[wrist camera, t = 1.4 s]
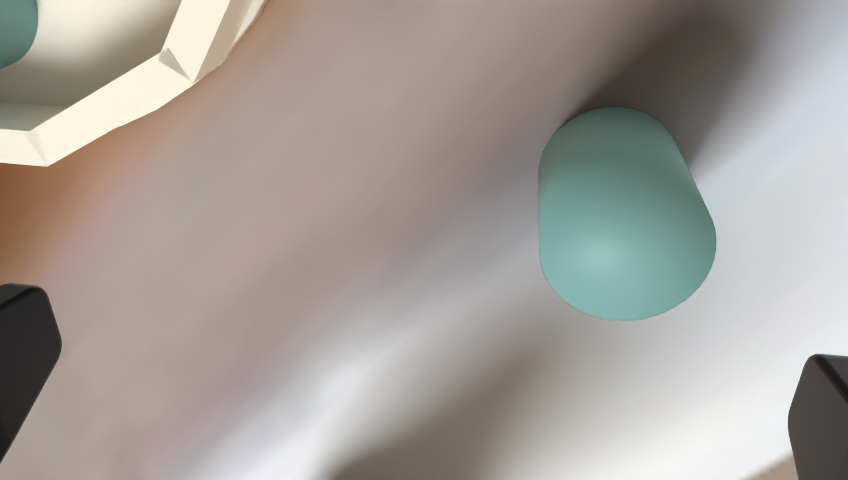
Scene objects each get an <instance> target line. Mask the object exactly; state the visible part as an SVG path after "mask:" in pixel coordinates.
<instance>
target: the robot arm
mask: <svg viewBox="0 0 848 480" xmlns="http://www.w3.org/2000/svg"><path fill="white" fill-rule="evenodd" d="M61 347H62V340H61V335H60V332H59V329H58V326H57V323H56V320H55V317H54V313H53V310H52V307H51V304H50V301H49V298H48V295H47V293H46V292H45V291H44V290H43V289H42V288H41V287H39V286H36V285H25V284H13V283H10V284H4V285H1V286H0V463H1V462H2V460H3V458H4V457H5V455H6V453H7V451H8V450H9V448H10V446H11V445H12V443H13V441H14V439H15V437H16V435H17V434H18V432H19V430H20V428H21V426H22V425H23V423H24V421H25V419H26V417H27V415H28V414H29V412H30V410H31V408H32V406H33V404H34V403H35V401H36V399H37V397H38V395H39V394H40V392H41V390H42V388H43V386H44V384H45V383H46V381H47V379H48V377H49V375H50V373H51V372H52V370H53V368H54V366H55V364H56V363H57V361H58V359H59V356H60V353H61ZM788 431H789V437H790V442H791V447H792V451H793V456H794V461H795V465H796V470H797V475H798V480H848V356H838V355H827V354H815V355H812V356H811V357H809V358H808V360H807V361H806V363H805V365H804V368H803V371H802V374H801V377H800V380H799V383H798V386H797V389H796V392H795V395H794V398H793V400H792V403H791V406H790V410H789V415H788Z"/></svg>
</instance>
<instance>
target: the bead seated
mask: <svg viewBox="0 0 848 480" xmlns="http://www.w3.org/2000/svg"><path fill="white" fill-rule="evenodd" d="M37 27H38V9H37V4H36V0H0V69H2V68H5V67H7V66H9V65H12V64H14V63H15V62H17V61H19V60H20V59H21V58H23V57H24V56H25V55H26V53H27V52H28V51H29V50H30V48H31V46H32V44H33V42H34V39H35V37H36V33H37Z"/></svg>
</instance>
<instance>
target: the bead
mask: <svg viewBox="0 0 848 480" xmlns="http://www.w3.org/2000/svg"><path fill="white" fill-rule="evenodd" d="M715 252H716V232H715V227H714V224H713V221H712V218H711V216H710V214H709V212H708V210H707V207H706V205H705V203H704V201H703V199H702V197H701V195H700V193H699V190H698V188H697V186H696V184H695V182H694V180H693V178H692V176H691V174H690V171H689V169H688V167H687V165H686V163H685V161H684V159H683V157H682V155H681V152H680V150H679V148H678V146H677V144H676V142H675V140H674V138H673V137H672V135H671V134H670V132H669V131H668V130H667V129H666V128H665V127H664V126H663V124H661V123H660V122H659V121H657V120H656V119H655V118H653V117H651V116H650V115H648V114H646V113H643V112H641V111H638V110H634V109H631V108H624V107H605V108H598V109H594V110H590V111H588V112H585V113H582V114H580V115H578V116H576V117H574V118H573V119H571V120H570V121H568V122H567V123H565V124H564V125H563V126H562V127H561V128H560V129H558V131H557V132H556V133H555V134H554V135H553V136H552V138H551V139H550V141H549V142H548V143H547V145H546V147H545V149H544V151H543V154H542V157H541V160H540V165H539V255H540V263H541V267H542V270H543V273H544V275H545V277H546V280H547V281H548V283H549V285H550V286H551V288H552V289H553V290H554V291H555V293H556V294H557V295H558V296H559V297H560V298H561V299H562V300H564V301H565V302H566V303H567V304H569V305H570V306H572V307H573V308H575V309H577V310H579V311H581V312H583V313H585V314H588V315H591V316H594V317H597V318H601V319H607V320H617V321H629V320H638V319H645V318H649V317H652V316H656V315H658V314H661V313H664V312H666V311H668V310H670V309H672V308H674V307H676V306H677V305H679V304H680V303H682V302H683V301H685V300H686V299H687V298H688V297H690V296H691V295H692V294H693V293H694V292H695V291H696V290H697V289H698V288H699V286H700V285H701V284H702V282H703V281H704V280H705V278H706V277H707V275H708V273H709V271H710V269H711V266H712V264H713V261H714V257H715Z"/></svg>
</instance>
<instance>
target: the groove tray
mask: <svg viewBox="0 0 848 480" xmlns="http://www.w3.org/2000/svg"><path fill="white" fill-rule="evenodd" d="M268 1H269V0H36V4H37V9H38V27H37V33H36V37H35V39H34V42H33V44H32V46H31V48H30V50H29V51H28V52H27V53H26V55H25V56H24V57H23V58H21V59H20V60H19V61H17V62H15V63H14V64H12V65H9V66H7V67H5V68H2V69H0V163H11V164H23V165H35V166H49V165H51V164H53V163H55V162H56V161H58V160H60V159H62V158H63V157H65V156H67V155H69V154H70V153H72V152H74V151H76V150H77V149H79V148H81V147H83V146H84V145H86V144H88V143H90V142H91V141H93V140H95V139H97V138H99V137H100V136H102V135H104V134H106V133H107V132H109V131H111V130H113V129H114V128H116V127H119V126H122V125H124V124H127V123H129V122H131V121H133V120H135V119H137V118H139V117H142V116H144V115H146V114H148V113H150V112H152V111H155V110H157V109H158V108H160V107H161V106H163V105H164V104H166V103H167V102H169V101H170V100H172V99H173V98H175V97H176V96H178V95H179V94H180V93H182V92H183V91H185V90H186V89H188V88H189V87H191V86H192V85H194V84H195V83H197V82H198V81H199V80H201V79H202V78H204V77H205V76H206V75H207V74H208V73H209V72H211V71H212V70H214V69H215V68H217V67H218V66H219V65H221V64H222V63H224V62H225V60H226V58H227V55H228V54H230V53H231V52H232V51H233V50H234V49H235V47H236V46H237V45H238V43H239V42H240V41H241V40H242V38H243V37H244V36H245V34H246V33H247V32H248V31H249V29H250V28H251V27H252V25H253V24H254V23H255V22H256V20H257V19H258V18H259V16H260V15H261V13H262V11H263V10H264V8H265V6H266V4H267V3H268Z"/></svg>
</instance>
